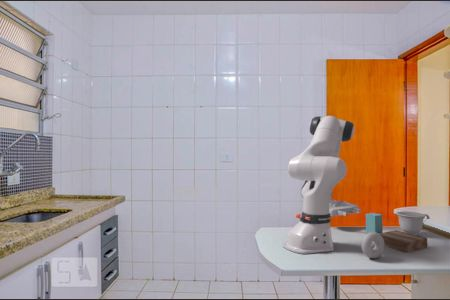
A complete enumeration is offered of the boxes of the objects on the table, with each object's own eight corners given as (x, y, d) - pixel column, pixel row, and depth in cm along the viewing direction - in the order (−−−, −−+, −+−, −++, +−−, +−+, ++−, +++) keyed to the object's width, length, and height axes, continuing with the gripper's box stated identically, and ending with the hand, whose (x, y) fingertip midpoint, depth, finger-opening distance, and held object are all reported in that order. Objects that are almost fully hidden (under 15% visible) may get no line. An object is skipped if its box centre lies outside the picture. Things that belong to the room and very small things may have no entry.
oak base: (406, 252, 119) (406, 242, 119) (375, 243, 131) (375, 234, 131) (427, 247, 125) (427, 238, 125) (395, 238, 137) (395, 230, 137)
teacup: (437, 237, 138) (437, 216, 139) (405, 237, 139) (405, 216, 139) (421, 230, 151) (421, 211, 151) (391, 230, 151) (391, 211, 151)
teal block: (375, 239, 136) (375, 215, 136) (366, 236, 141) (365, 213, 141) (382, 238, 139) (382, 214, 139) (373, 235, 143) (372, 212, 143)
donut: (379, 255, 116) (379, 229, 116) (386, 258, 113) (386, 231, 113) (359, 258, 113) (359, 232, 113) (366, 261, 110) (366, 234, 110)
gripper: (318, 204, 159) (338, 208, 146) (346, 200, 168) (366, 204, 155) (318, 215, 159) (338, 221, 147) (346, 211, 168) (367, 216, 155)
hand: (353, 212), depth 151 cm, fingers open, 8 cm apart
